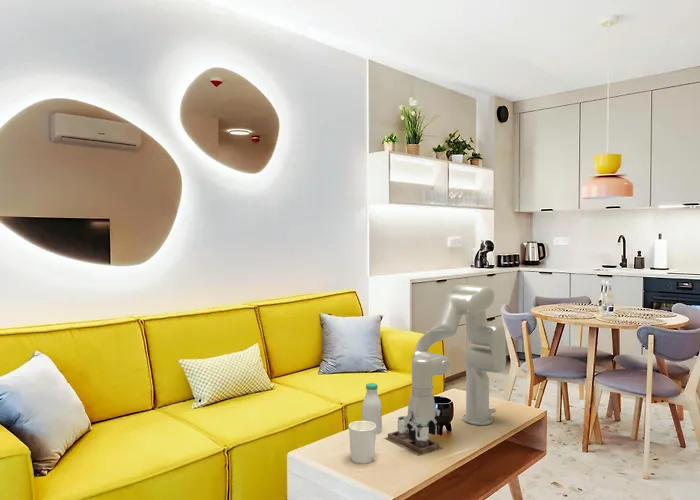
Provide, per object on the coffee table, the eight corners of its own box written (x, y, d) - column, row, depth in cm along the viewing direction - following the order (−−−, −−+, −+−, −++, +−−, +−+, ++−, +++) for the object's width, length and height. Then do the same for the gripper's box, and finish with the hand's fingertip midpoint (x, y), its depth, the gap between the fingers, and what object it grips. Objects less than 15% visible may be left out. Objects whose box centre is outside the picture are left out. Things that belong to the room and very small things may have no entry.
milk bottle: (380, 438, 212) (379, 387, 212) (360, 436, 214) (360, 386, 213) (382, 430, 220) (382, 382, 219) (364, 429, 221) (363, 381, 221)
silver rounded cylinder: (423, 443, 203) (422, 420, 203) (431, 447, 199) (431, 424, 199) (412, 446, 201) (412, 423, 201) (421, 451, 197) (420, 427, 196)
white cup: (349, 452, 198) (349, 420, 198) (376, 453, 198) (376, 420, 197) (348, 464, 188) (348, 430, 188) (376, 464, 188) (376, 430, 188)
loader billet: (404, 435, 212) (404, 413, 211) (413, 439, 207) (413, 417, 207) (395, 438, 209) (395, 416, 208) (403, 442, 205) (403, 420, 204)
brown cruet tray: (407, 434, 216) (407, 427, 216) (443, 451, 199) (443, 443, 199) (383, 441, 209) (383, 434, 209) (418, 459, 192) (418, 451, 192)
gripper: (432, 384, 207) (432, 428, 208) (397, 392, 197) (397, 439, 198) (446, 389, 201) (446, 434, 202) (410, 398, 191) (411, 445, 192)
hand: (422, 436), depth 200 cm, fingers open, 9 cm apart
